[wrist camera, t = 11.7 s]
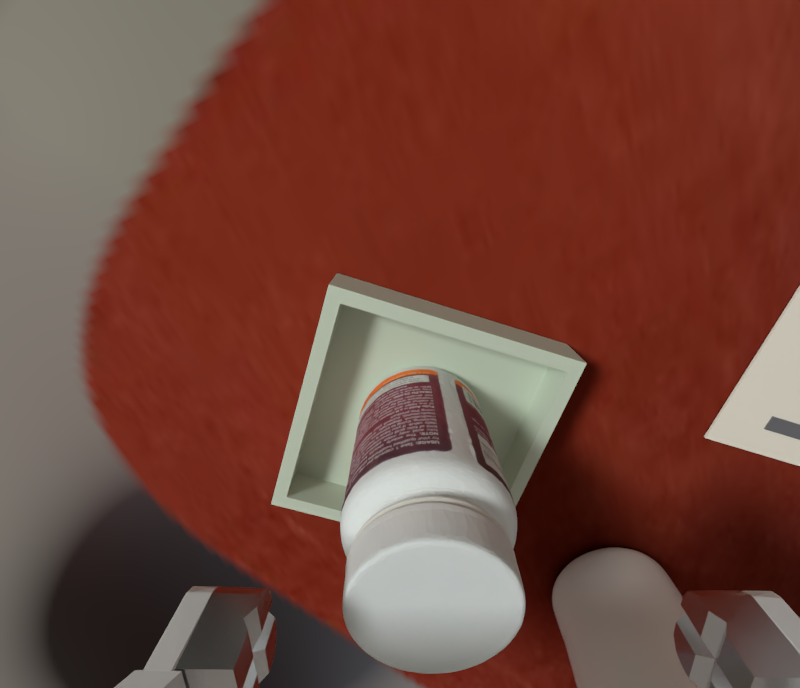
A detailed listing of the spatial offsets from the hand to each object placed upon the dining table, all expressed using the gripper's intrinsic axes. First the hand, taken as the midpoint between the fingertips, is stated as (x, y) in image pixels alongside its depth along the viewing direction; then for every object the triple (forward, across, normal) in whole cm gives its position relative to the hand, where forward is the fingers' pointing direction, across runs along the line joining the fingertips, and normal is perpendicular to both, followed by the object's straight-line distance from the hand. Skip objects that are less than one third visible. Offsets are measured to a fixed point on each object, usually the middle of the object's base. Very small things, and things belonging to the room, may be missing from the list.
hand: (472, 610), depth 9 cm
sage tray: (+9, +1, +1) cm, 9 cm away
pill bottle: (+9, +1, +1) cm, 9 cm away
